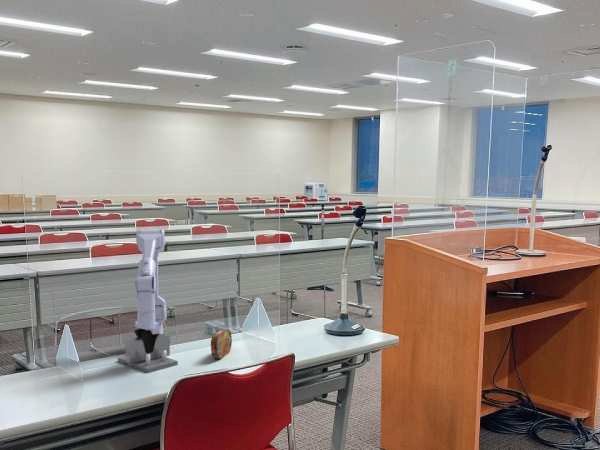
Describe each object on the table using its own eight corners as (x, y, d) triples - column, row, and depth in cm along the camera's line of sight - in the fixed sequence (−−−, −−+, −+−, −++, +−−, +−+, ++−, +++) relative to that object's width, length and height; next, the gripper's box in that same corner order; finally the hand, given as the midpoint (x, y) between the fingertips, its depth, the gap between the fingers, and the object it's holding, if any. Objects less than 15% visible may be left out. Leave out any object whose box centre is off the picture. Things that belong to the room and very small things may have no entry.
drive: (125, 360, 176) (125, 339, 175) (165, 353, 185) (165, 333, 184) (130, 363, 173) (129, 341, 173) (169, 355, 182) (169, 335, 182)
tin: (218, 361, 179) (217, 337, 179) (209, 361, 180) (208, 336, 179) (232, 349, 194) (232, 326, 193) (224, 349, 194) (224, 326, 194)
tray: (117, 361, 181) (117, 348, 181) (146, 354, 189) (146, 341, 189) (148, 372, 168) (147, 358, 168) (177, 364, 176) (177, 351, 176)
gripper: (167, 312, 175) (167, 353, 175) (148, 306, 186) (149, 345, 187) (146, 315, 170) (147, 357, 171) (128, 309, 181) (129, 348, 182)
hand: (147, 351), depth 178 cm, fingers closed on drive, 3 cm apart
